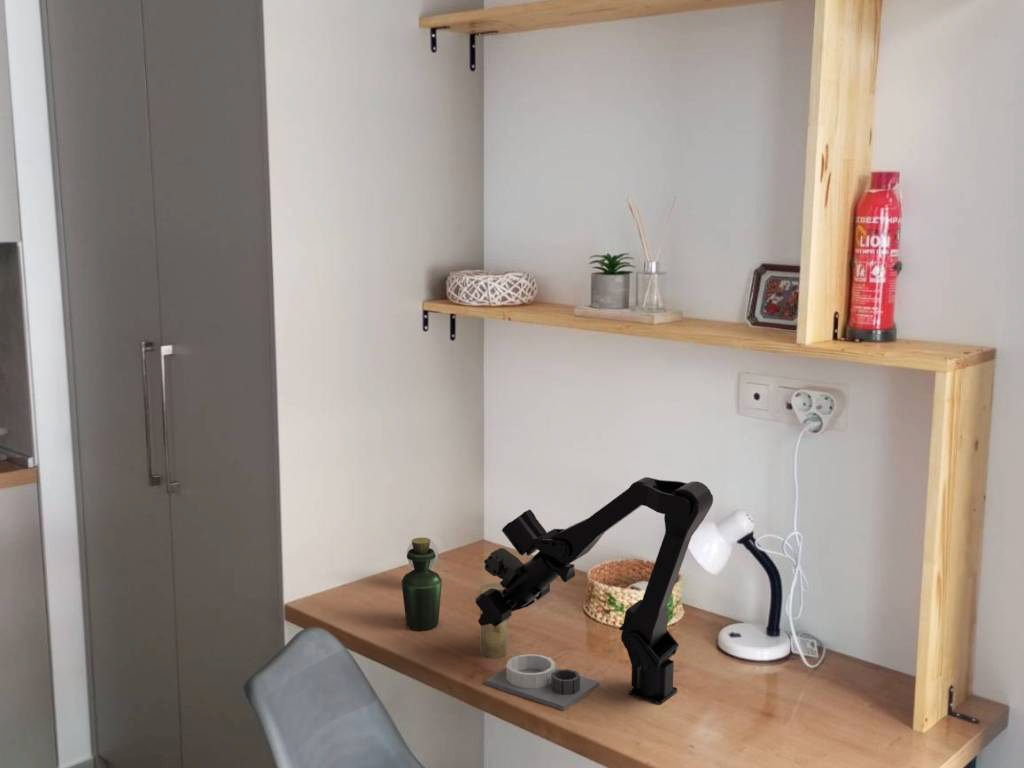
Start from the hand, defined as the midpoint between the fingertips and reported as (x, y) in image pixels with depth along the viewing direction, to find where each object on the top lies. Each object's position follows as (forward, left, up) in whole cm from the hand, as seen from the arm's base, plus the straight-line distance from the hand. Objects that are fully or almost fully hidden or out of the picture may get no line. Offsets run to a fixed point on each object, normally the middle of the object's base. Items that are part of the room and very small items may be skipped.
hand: (487, 618), depth 207 cm
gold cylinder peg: (-1, 0, -7) cm, 7 cm away
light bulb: (+32, -17, -7) cm, 37 cm away
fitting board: (-17, +6, -7) cm, 19 cm away
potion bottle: (+19, -2, -7) cm, 20 cm away
